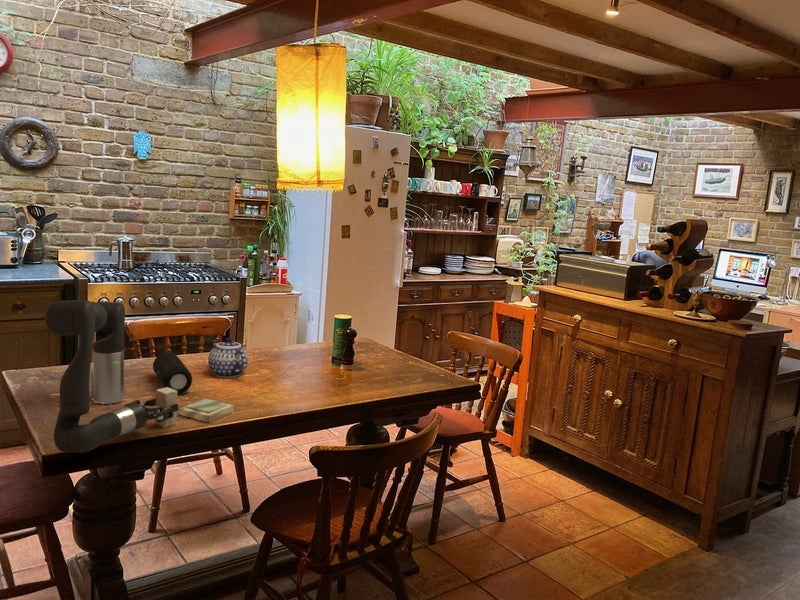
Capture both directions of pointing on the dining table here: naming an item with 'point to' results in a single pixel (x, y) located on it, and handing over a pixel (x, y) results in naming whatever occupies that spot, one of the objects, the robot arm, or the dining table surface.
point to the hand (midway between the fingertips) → (166, 404)
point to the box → (166, 403)
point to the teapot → (227, 359)
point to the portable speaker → (172, 372)
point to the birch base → (206, 410)
